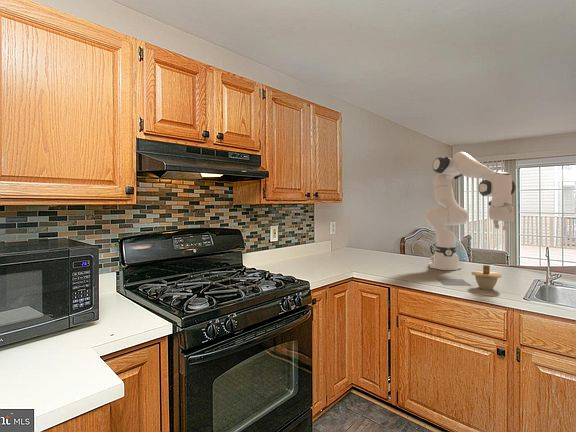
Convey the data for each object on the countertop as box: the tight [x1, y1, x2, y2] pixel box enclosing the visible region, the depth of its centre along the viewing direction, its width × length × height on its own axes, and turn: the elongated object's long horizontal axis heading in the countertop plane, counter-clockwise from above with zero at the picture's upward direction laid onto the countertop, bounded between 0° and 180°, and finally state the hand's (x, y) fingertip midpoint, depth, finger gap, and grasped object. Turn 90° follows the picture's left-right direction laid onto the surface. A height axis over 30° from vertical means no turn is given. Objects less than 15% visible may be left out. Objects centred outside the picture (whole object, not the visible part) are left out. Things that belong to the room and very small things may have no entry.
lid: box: [471, 264, 502, 279], centre depth 171 cm, size 13×13×5 cm
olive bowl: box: [474, 276, 499, 291], centre depth 171 cm, size 10×10×7 cm
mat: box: [436, 278, 473, 287], centre depth 184 cm, size 14×14×1 cm
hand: (500, 229), depth 179 cm, fingers open, 8 cm apart
